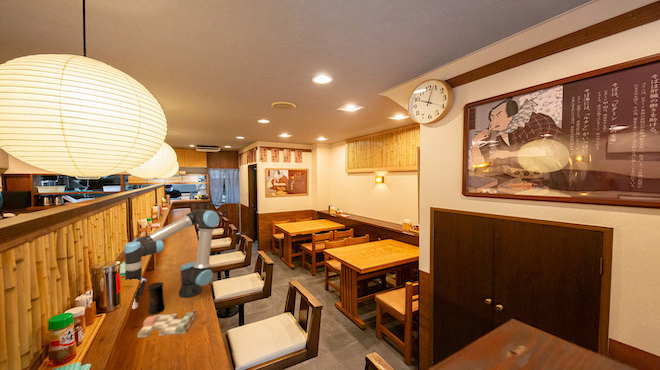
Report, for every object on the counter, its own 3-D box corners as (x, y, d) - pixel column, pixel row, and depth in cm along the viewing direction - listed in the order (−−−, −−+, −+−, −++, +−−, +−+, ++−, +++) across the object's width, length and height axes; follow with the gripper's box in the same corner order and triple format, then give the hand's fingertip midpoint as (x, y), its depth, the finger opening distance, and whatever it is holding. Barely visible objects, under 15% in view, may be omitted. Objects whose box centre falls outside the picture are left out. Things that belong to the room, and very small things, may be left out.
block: (148, 321, 151) (148, 316, 150) (157, 320, 151) (157, 315, 151) (143, 326, 146) (143, 321, 145) (152, 325, 147) (152, 321, 146)
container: (146, 311, 165) (145, 285, 164) (162, 305, 172) (161, 280, 170) (150, 316, 159) (148, 289, 158) (166, 310, 166) (165, 284, 164)
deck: (153, 319, 157) (153, 312, 156) (196, 315, 161) (195, 309, 160) (137, 337, 140) (137, 330, 140) (185, 333, 144) (185, 326, 144)
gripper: (116, 272, 140) (118, 312, 141) (142, 270, 142) (143, 310, 144) (125, 266, 147) (126, 304, 149) (149, 265, 149) (150, 303, 151)
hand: (135, 307), depth 146 cm, fingers closed
